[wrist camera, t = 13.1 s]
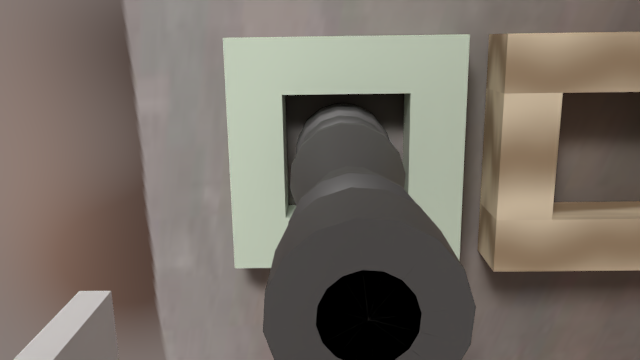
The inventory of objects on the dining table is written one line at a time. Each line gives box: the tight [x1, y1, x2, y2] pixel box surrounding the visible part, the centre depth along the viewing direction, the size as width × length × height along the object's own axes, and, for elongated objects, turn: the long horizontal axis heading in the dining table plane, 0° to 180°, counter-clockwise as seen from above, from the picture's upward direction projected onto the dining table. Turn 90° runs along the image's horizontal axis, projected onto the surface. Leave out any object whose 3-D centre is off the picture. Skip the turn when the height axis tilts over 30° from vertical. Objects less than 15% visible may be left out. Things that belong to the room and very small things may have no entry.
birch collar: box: [478, 32, 640, 272], centre depth 37 cm, size 15×15×4 cm
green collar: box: [223, 34, 470, 268], centre depth 38 cm, size 15×15×3 cm
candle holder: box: [263, 103, 476, 360], centre depth 27 cm, size 6×6×25 cm
